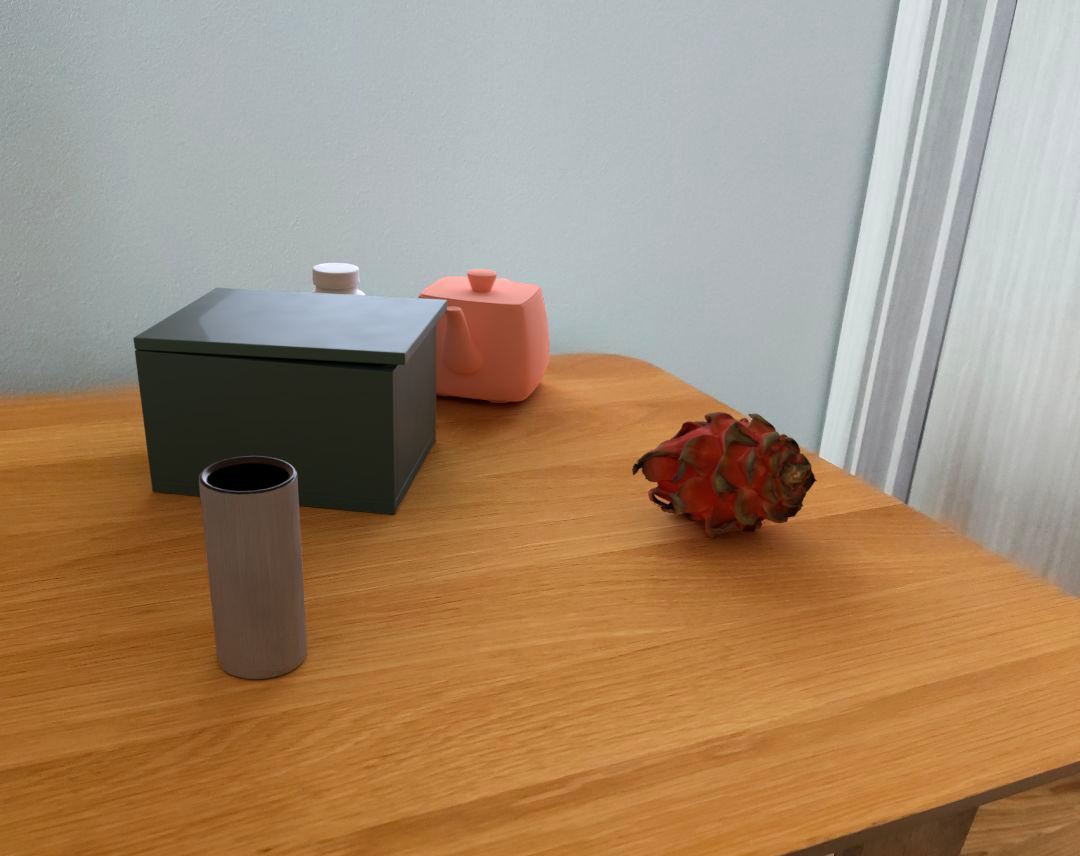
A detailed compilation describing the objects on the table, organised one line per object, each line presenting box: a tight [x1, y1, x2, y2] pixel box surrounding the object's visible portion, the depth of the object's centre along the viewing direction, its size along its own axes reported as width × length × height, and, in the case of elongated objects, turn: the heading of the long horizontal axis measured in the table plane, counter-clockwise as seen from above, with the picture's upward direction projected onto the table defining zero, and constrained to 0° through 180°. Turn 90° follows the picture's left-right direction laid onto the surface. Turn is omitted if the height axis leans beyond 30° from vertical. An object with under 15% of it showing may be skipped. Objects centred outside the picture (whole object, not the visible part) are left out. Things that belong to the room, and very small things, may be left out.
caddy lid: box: [132, 287, 447, 365], centre depth 73 cm, size 18×14×1 cm
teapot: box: [417, 268, 550, 404], centre depth 92 cm, size 12×18×10 cm, turn 167°
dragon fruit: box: [632, 411, 818, 538], centre depth 70 cm, size 8×8×12 cm
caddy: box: [134, 325, 437, 515], centre depth 75 cm, size 17×14×10 cm
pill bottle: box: [309, 262, 367, 296], centre depth 94 cm, size 5×5×10 cm
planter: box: [199, 456, 308, 680], centre depth 53 cm, size 4×4×10 cm
